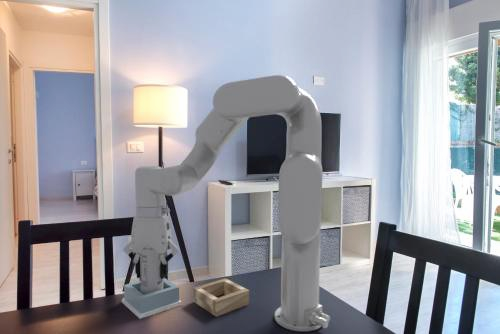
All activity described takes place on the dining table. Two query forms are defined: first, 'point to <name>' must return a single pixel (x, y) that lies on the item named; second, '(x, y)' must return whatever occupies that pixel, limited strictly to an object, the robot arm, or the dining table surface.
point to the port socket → (150, 299)
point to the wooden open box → (218, 306)
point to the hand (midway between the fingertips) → (151, 275)
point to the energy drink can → (150, 271)
